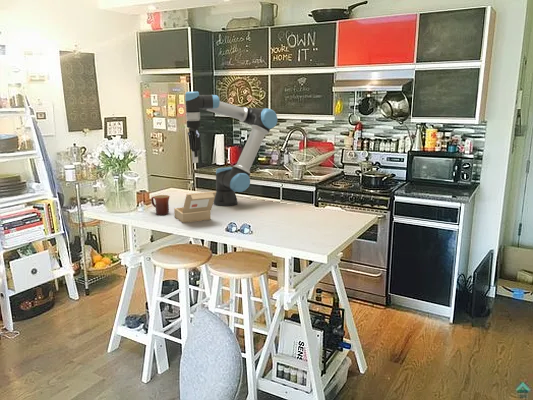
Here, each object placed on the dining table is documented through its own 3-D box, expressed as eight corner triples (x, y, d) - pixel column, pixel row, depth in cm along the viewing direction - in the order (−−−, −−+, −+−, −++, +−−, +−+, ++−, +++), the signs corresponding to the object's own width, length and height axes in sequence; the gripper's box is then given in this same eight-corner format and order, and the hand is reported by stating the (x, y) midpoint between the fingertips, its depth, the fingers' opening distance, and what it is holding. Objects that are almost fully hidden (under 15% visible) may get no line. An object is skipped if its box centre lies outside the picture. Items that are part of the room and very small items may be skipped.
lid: (215, 191, 237) (218, 196, 235) (210, 209, 246) (212, 214, 244) (186, 194, 229) (188, 199, 227) (182, 212, 238) (184, 217, 236)
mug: (173, 213, 260) (172, 195, 258) (163, 216, 252) (162, 198, 250) (157, 210, 265) (156, 193, 263) (147, 213, 258) (146, 196, 255)
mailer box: (201, 213, 259) (201, 205, 258) (210, 219, 247) (210, 210, 246) (174, 216, 252) (174, 208, 251) (182, 223, 240) (182, 214, 239)
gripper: (182, 120, 251) (184, 161, 257) (191, 121, 240) (193, 164, 246) (195, 119, 255) (197, 160, 261) (204, 120, 244) (206, 163, 250)
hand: (195, 162), depth 253 cm, fingers closed
